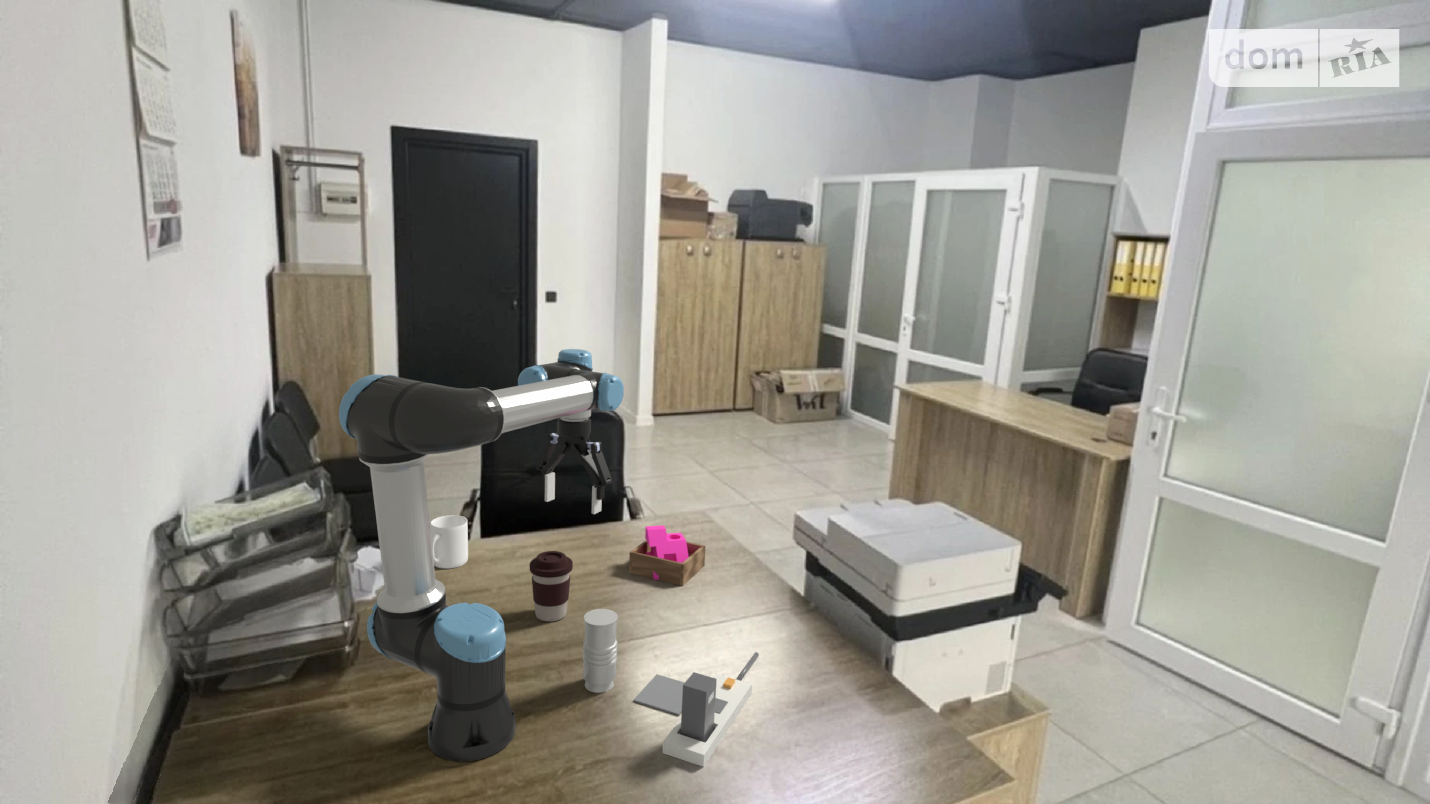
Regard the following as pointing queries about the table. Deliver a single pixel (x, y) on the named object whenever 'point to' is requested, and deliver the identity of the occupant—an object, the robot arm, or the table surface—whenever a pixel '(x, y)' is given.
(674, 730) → the power strip
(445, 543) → the mug
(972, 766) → the table surface
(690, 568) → the display box
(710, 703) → the block
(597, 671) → the grey ribbed canister
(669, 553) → the bracket
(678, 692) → the mat
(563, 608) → the coffee cup
